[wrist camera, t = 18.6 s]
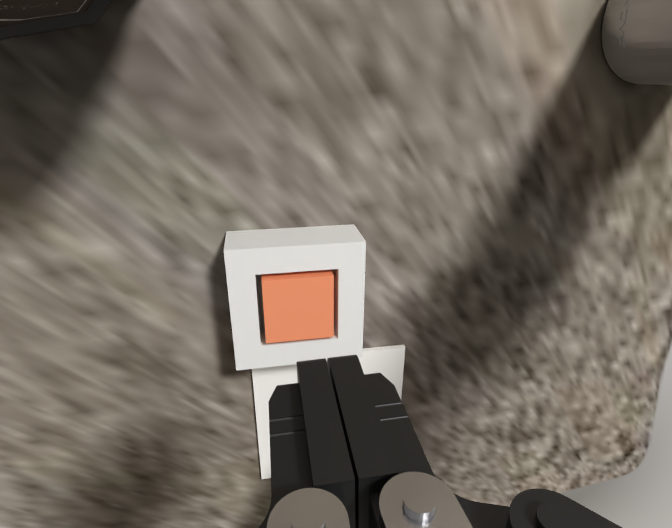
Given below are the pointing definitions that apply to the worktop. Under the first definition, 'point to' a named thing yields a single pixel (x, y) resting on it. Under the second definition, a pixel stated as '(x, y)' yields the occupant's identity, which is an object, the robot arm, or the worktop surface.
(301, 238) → the button housing
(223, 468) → the worktop surface
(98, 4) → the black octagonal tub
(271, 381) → the white flat square slab
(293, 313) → the button
